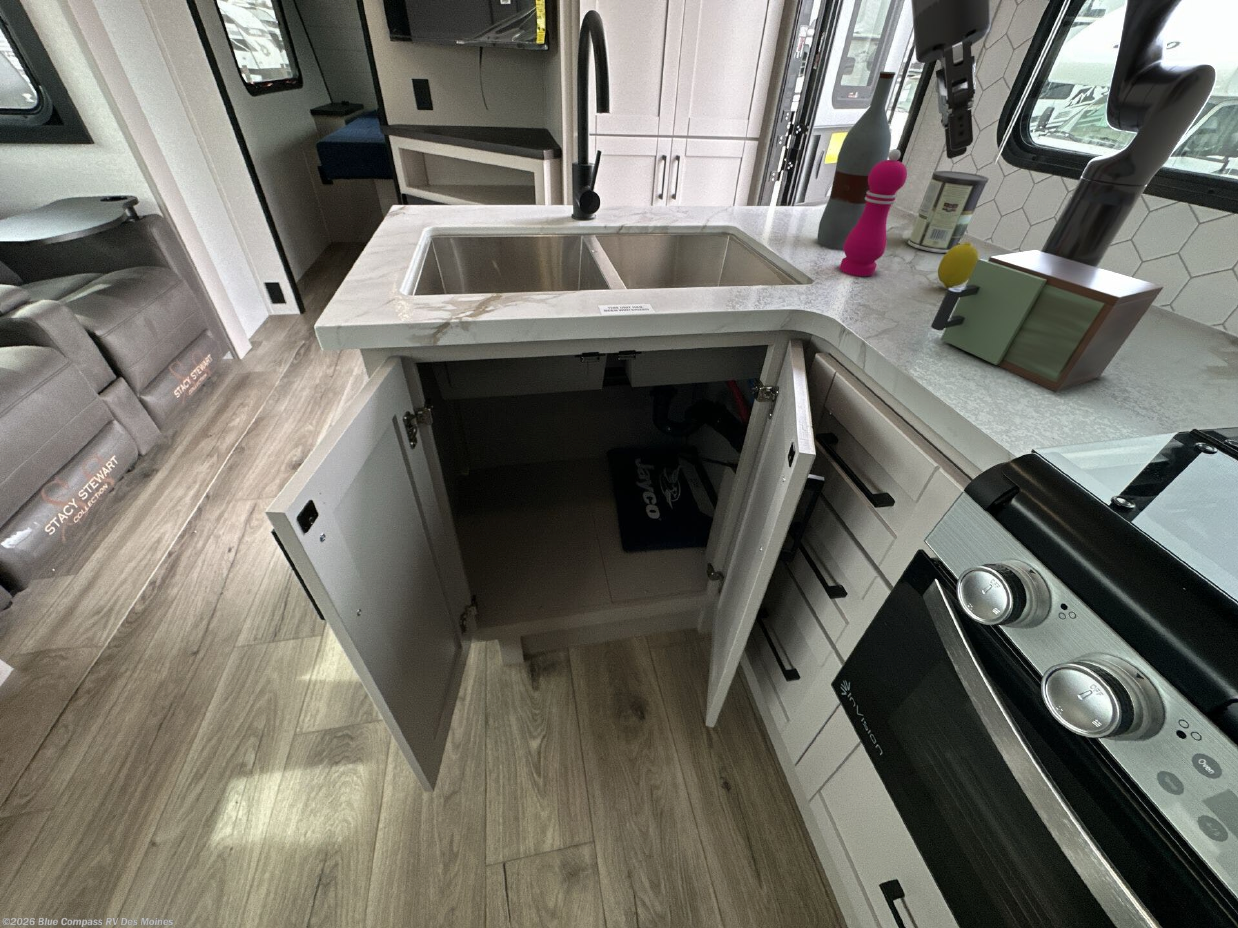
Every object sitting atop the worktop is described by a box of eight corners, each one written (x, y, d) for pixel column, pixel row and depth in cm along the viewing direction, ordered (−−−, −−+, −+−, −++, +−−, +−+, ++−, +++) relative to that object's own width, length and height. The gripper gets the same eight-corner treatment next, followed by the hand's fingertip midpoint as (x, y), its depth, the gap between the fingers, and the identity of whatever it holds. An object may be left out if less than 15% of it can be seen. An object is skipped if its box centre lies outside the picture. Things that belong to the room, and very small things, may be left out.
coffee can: (943, 241, 118) (972, 172, 109) (966, 254, 110) (999, 181, 101) (899, 238, 118) (925, 169, 109) (919, 252, 110) (948, 178, 101)
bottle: (856, 241, 114) (910, 73, 96) (861, 253, 107) (921, 74, 89) (813, 236, 116) (857, 70, 97) (815, 247, 109) (864, 70, 90)
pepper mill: (857, 279, 94) (899, 153, 81) (828, 267, 99) (864, 146, 86) (884, 275, 97) (929, 152, 84) (854, 263, 102) (893, 146, 89)
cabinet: (1055, 392, 63) (1119, 297, 56) (948, 342, 74) (989, 256, 66) (1099, 377, 67) (1164, 286, 60) (991, 332, 77) (1034, 249, 70)
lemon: (968, 296, 90) (991, 248, 85) (935, 292, 90) (955, 245, 85) (958, 285, 94) (979, 239, 89) (927, 282, 95) (946, 236, 90)
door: (970, 372, 66) (1017, 285, 59) (915, 345, 71) (951, 263, 64) (999, 364, 68) (1047, 279, 61) (943, 338, 74) (981, 258, 67)
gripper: (996, -43, 53) (1004, 131, 57) (981, 6, 64) (988, 148, 69) (912, -3, 56) (926, 158, 61) (912, 36, 68) (923, 169, 72)
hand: (959, 152), depth 65 cm, fingers open, 8 cm apart
